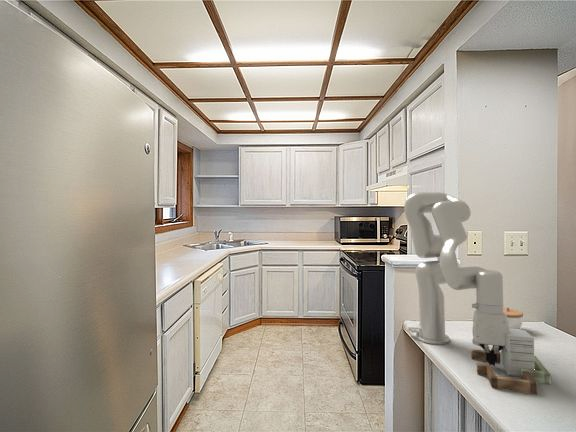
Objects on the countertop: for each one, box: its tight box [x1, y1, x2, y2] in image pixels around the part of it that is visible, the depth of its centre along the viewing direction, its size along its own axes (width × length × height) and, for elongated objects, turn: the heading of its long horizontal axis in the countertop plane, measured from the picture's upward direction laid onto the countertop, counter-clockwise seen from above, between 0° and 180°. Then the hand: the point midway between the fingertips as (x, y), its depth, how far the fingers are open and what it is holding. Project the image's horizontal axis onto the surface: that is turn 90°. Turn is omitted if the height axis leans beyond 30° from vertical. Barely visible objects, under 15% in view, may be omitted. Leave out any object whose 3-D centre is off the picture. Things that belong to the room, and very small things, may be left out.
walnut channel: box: [470, 348, 552, 385], centre depth 107 cm, size 19×13×3 cm
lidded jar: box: [503, 307, 524, 329], centre depth 142 cm, size 11×11×9 cm
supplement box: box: [499, 328, 535, 377], centre depth 105 cm, size 7×7×13 cm
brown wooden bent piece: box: [486, 366, 538, 395], centre depth 98 cm, size 11×8×3 cm
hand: (491, 363), depth 108 cm, fingers closed
